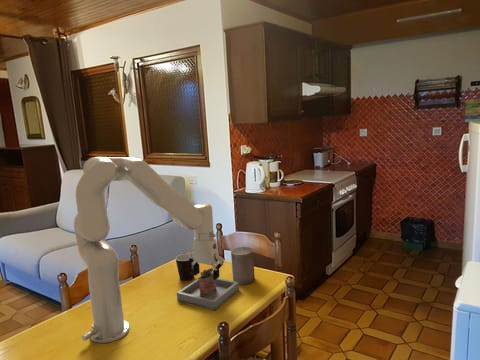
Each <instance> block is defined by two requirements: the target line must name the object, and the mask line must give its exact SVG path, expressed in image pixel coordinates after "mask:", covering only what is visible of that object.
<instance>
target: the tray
mask: <svg viewBox="0 0 480 360" xmlns="http://www.w3.org/2000/svg"><path fill="white" fill-rule="evenodd" d="M215 283H216V290H217V291H216V292H214V293H213V294H211V295H209V296H206V297H200V287H199V281H198V278H197V279H195V280H193V281H192V282H191V283H189V284H187V285H186V286H184V287H183V288H182V289H180V290H179V291H176V301H177V302H180V303H184V304H187V305H191V306H195V307H200V308H202V309H206V310H210V311H215V312H216V310H217V309H219V308H220V307H221V306H222V305H224V304H225V303H226V302H227V301H228V300H230V299H231V298H232V297H233V296H235V294H237V293H238V292H239V291H240V285H239V282H235V281H233V280H229V279H224V278H220V277H219V278H217V279H216V280H215Z"/></svg>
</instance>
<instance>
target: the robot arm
mask: <svg viewBox="0 0 480 360" xmlns="http://www.w3.org/2000/svg"><path fill="white" fill-rule="evenodd" d="M82 168H83V169H82V170H83V171H82V172H83V174H82V175H81V177H80V179H79V180H78V182H77V185H76V189H75V203H76V207H77V208H76V209H77V214H76V216H75V217H74V221H73V231H74V234H75V240H76V244H77V248H78V253H79V256H80V259H81V260H82V263H84V265H85V266H86V268H87V272H88V273H87V274H88V275H87V277H88V289H89V296H90V304H91V311H92V318H93V324H91V329H89V331H88V332H86V333H84V334H83V335H81V339H82V341H83V342H86V341H87V340H89V339H90V341H93V342H95V343H100V344H105V343H107V344H108V343H111V342H115V341H118V340H120V339H122V338H123V337H124V336H126V335H127V334H128V332H129V330H130V323H129V322H128V321H126V320H125V319H124V311H123V303H122V302H123V301H122V293H121V286H120V277H119V276H120V275H119V255H118V253H117V251H116V250H115V249H114V247H112V246H111V245H110V244H109V243H108V242H107V237H108V235H109V234H110V227H111V225H110V221H109V216H108V212H107V206H106V200H105V199H106V198H105V197H106V196H105V194H106V190H107V189H108V186H110V184H111V183H112V182H118V181H119V182H120V181H128V182H129V183H131V184H132V185H133V186H134V187H135V188H136V189H138V190H139V191H140V192H141V193H142V194H143V195H144V196H145V197H146V198H147V199H148V200H149V201H150V202H152V203H153V204H155V205H156V206H158V207H160V208H161V209H164V210H165V211H166V212H168V213H169V214H170V215H171V220H172V221H173V223H175V224H176V225H178V226H180V227H182V228H185V229H186V230H189V231H194V237H193V241H192V251H190V252H188V253H186V254H187V255H188V258H189V261H190V262H191V263H192V266H193V272H194V276H197V275H198V274H201V271H200V264H203V265H209V266H211V268H213V271H212V272H213V279H214V280H216V279H217V278H220V268H222V267H223V265H224V263H225V258H223V257H222V256H220V253H219V246H218V242H217V239H216V233H214V218H213V217H214V216H213V207H212V205H211V204H209V203H197V204H195V205H193V204H192V202H190V201H189V200H188V199H187V198H186V197H184V196H183V195H182V194H181V193H180V192H178V190H176V189H175V188H174V187H173V186H171V185H170V184H169V183H168V182H167V181H166V180H165V179H164V178H163V177H161V175H160V174H158V173H157V171H155V169H153V168H152V166H151V165H149V164H148V163H147V162H146V161H145V160H143V159H141V158H137V157H128V156H127V157H125V156H124V157H111V156H109V157H107V156H95V157H91V158H90V157H89V159H87V160H86V161H85V163H84V165H83V167H82ZM192 255H193V256H192Z"/></svg>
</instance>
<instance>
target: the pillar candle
mask: <svg viewBox="0 0 480 360" xmlns="http://www.w3.org/2000/svg"><path fill="white" fill-rule="evenodd" d="M230 255H231V256H230V257H231V269H232V281H235V282H239V286H240V285H241V286H245V285H246V284H247V285H249V284H252V283H254V282H255V281H254V280H256V278H255V276H256V275H255V263H254V250H253V249H252V248H251V247H248V246H238V247H235V248H233V249H231V250H230Z"/></svg>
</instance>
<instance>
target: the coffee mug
mask: <svg viewBox="0 0 480 360" xmlns="http://www.w3.org/2000/svg"><path fill="white" fill-rule="evenodd" d="M187 254H188V253H183V254H178V255H177V256H175V261H176V266H177V267H176V268H177V272H178V276H179V280H180V281H182V282H188V281H189V282H190V281H192V280H194V278H195V275H194V272H193V266H192V263H191V262H190V261H189V258H188V255H187ZM192 256H193V255H192Z"/></svg>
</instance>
